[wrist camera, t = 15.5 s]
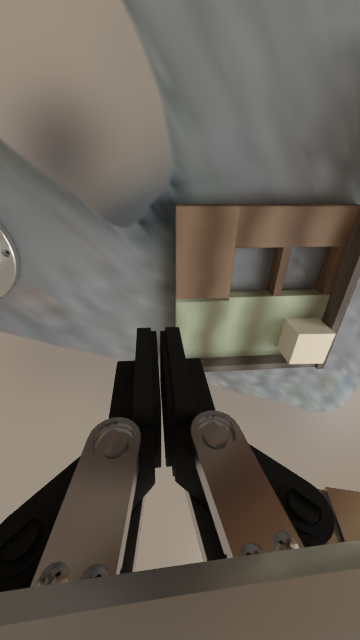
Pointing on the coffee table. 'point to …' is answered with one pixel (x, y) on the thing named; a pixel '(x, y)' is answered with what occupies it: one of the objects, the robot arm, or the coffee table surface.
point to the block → (305, 340)
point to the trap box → (273, 304)
